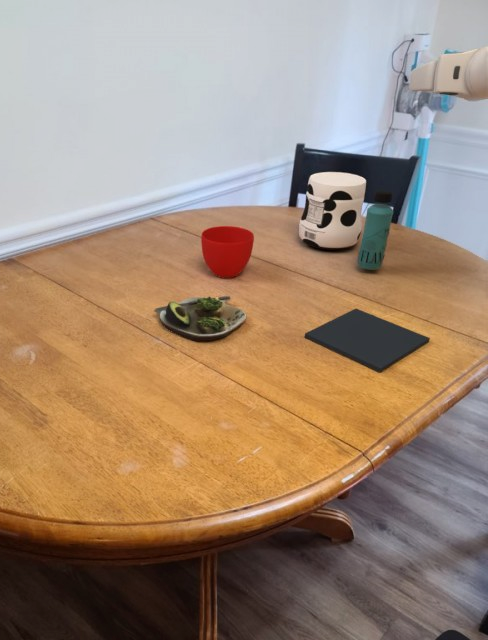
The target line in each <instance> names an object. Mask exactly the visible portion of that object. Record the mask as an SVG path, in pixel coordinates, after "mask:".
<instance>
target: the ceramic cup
mask: <svg viewBox="0 0 488 640" xmlns="http://www.w3.org/2000/svg"><path fill="white" fill-rule="evenodd" d="M200 239H201V241H200V242H201V252H202V257H203V259H204V263H205V264H206V266H207V268H208V270H210V272H211V273H212V274H213V273H214V274H215V275H217V276H220V277H219V278H221V277H232V278H235V277H234V276H236V275H237V276H239V274H240V273H241V272H242V271H243V270H244V269H245V268H246V267H247V265H248V263H249V261H250V259H251V256H252V254H253V247H254V242H255V234H254V233H253V232H252V231H251V230H249V229H246V228H244V227H239V226H232V225H220V226H213V227H208V228H207V229H204V230H203V231H202V232H201V237H200ZM214 274H213V275H214ZM215 275H214V276H215ZM217 276H216V277H217ZM237 276H236V277H237Z"/></svg>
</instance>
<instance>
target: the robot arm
mask: <svg viewBox="0 0 488 640" xmlns="http://www.w3.org/2000/svg"><path fill="white" fill-rule="evenodd" d="M408 82H409V83H408V89H409V91H412V92H433V93H434V94H436V95H445V96H450V97H451V96H452V97H456V98H459V99H463V100H465V101H468V102H479V101H484V100H488V45H486V46H482V47H476V48H474V49H471V50H467V51H459V52H449V53H444V54H440V55H439V56H438V58H437V60H436V59H435V60H432V61H429V62H426V63H424V64H421V65H419V66H417V67H415V68H413V69H412V70H411V72H410V76H409V81H408Z"/></svg>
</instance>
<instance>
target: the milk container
mask: <svg viewBox="0 0 488 640" xmlns="http://www.w3.org/2000/svg"><path fill="white" fill-rule="evenodd" d="M366 186H367V179H366V178H364V177H362V176H361V175H358V174H354V173H349V172H341V171H338V172H337V171H324V172H316V173H313V174H311V175H310V176H309V178H308V183H307V186H306V187H307V188H306V193H305V201H304V202H305V203H304V208H303V212H302V215H301V217H300V221H299V222H298V223H299V224H298V236H299V238H300V240H301V241H302V242H303V243H304V244H306V245H308V246H309V247H313V248H315V249H321V250H326V251H327V250H329V251H330V250H331V251H339V250H345V249H350V248H352V247H353V246H355V245H356V244H357V242H358V241H359V240H360V237H361V234H362V230H363V222H362V211H363V206H364V200H365V193H366Z"/></svg>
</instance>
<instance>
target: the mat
mask: <svg viewBox="0 0 488 640" xmlns="http://www.w3.org/2000/svg"><path fill="white" fill-rule="evenodd" d="M304 338H305V339H306V340H309V341H310V342H313V343H315V344H317V345H319V346H321V347H324V348H326V349H328V350H330V351H333V352H335V353H336V354H339V355H341V356H342V357H345V358H347V359H349V360H351V361H353V362H355V363H358V364H360V365H362V366H365V367H366V368H368V369H370V370H373V371H375V372H377V373H378V374H380V373H382V372H383V371H385V370H387V369H389V368H391V366H394V365H395V364H396V363H398V362H400V361H401V360H403V359H405V358H406V357H408V356H409V355H411V354H412V353H414V352H416V351H417V350H419V349H420V348H422V347H424V346H425V345H427V344H428V343H430V341H431V337H428V336H426V335H423V334H421V333H419V332H416V331H414V330H412V329H411V330H410V329H408V328H406V327H403V326H401V325H398V324H396V323H393V322H391V321H388V320H386V319H383V318H381V317H378V316H376V315H374V314H371V313H370V312H369V313H368V312H366V311H364V310H362V309H359V308H354V309H352V310H350V311H347V312H346V313H344V314H342V315H339V316H337V317H335V318H333V319H331V320H329V321H327V322H325V323H323V324H321V325H319V326H317V327H315V328H313V329H311V330H309V331H307V332H305V333H304Z"/></svg>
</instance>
